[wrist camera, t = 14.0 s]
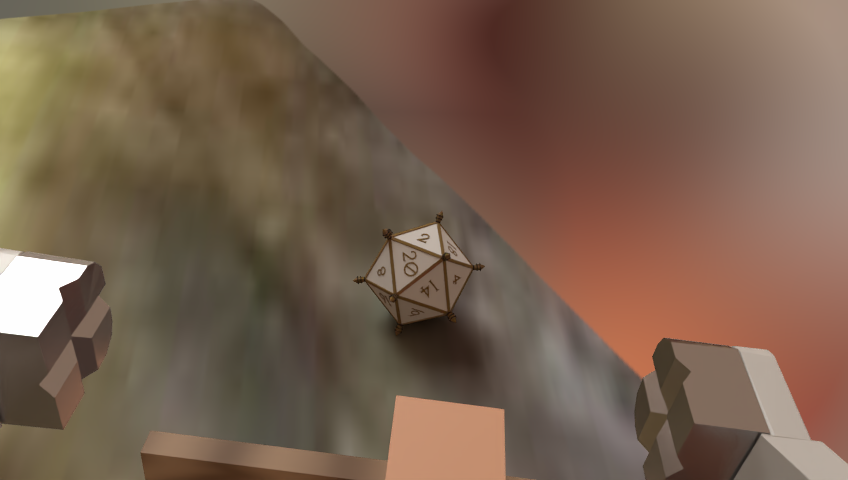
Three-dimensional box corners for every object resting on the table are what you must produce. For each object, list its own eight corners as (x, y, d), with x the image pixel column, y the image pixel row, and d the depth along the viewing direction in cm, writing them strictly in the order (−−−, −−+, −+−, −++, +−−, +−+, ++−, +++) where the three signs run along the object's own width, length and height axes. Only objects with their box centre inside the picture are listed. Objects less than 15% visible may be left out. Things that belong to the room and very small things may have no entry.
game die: (429, 357, 59) (493, 333, 51) (331, 327, 57) (381, 296, 48) (447, 256, 63) (509, 217, 54) (355, 223, 60) (406, 177, 52)
